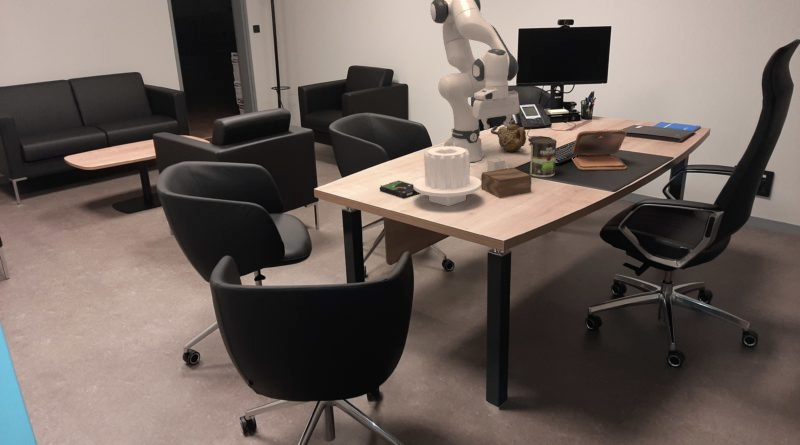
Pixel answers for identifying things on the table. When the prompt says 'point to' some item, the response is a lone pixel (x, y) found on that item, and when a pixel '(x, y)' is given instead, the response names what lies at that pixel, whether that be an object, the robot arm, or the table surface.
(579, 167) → the case
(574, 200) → the table surface
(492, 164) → the white block
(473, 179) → the ribbed cylinder on disc
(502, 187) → the walnut box
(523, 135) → the teapot
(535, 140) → the coffee can
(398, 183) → the disk drive
